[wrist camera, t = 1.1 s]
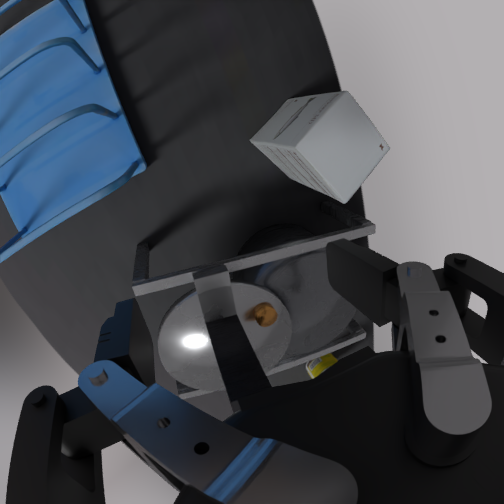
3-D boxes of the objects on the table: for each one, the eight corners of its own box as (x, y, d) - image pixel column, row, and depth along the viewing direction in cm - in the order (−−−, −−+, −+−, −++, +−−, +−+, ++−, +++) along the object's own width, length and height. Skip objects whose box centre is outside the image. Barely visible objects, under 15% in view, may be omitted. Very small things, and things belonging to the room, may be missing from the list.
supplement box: (287, 97, 32) (349, 87, 21) (325, 139, 35) (393, 149, 24) (246, 140, 32) (293, 146, 21) (288, 180, 36) (347, 206, 25)
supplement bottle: (327, 367, 53) (354, 404, 44) (302, 374, 51) (327, 413, 42) (334, 346, 51) (364, 383, 42) (307, 352, 49) (335, 392, 40)
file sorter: (148, 167, 31) (139, 195, 17) (29, 236, 28) (-29, 300, 15) (82, -8, 19) (49, -74, 5) (-32, 70, 17) (-103, 58, 3)
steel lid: (183, 401, 31) (200, 477, 22) (134, 287, 24) (129, 377, 15) (290, 369, 34) (330, 435, 25) (281, 250, 27) (345, 314, 18)
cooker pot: (172, 347, 40) (181, 400, 32) (137, 244, 33) (131, 285, 24) (329, 301, 46) (365, 338, 37) (328, 200, 39) (375, 223, 30)
